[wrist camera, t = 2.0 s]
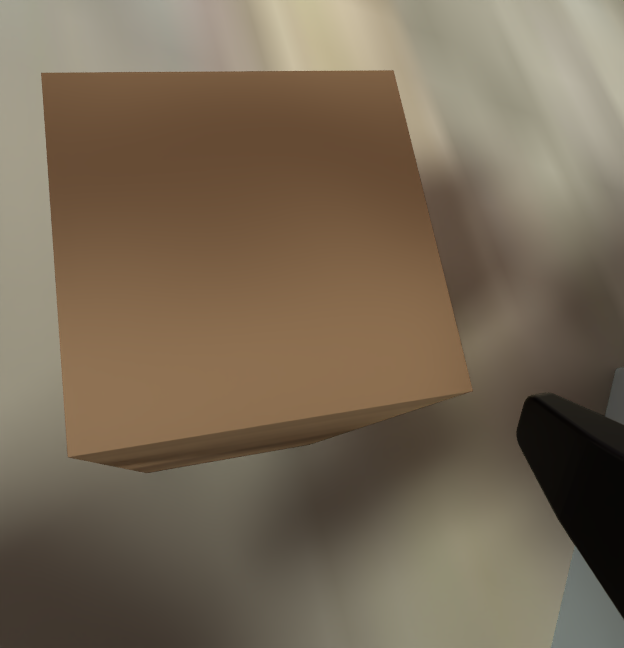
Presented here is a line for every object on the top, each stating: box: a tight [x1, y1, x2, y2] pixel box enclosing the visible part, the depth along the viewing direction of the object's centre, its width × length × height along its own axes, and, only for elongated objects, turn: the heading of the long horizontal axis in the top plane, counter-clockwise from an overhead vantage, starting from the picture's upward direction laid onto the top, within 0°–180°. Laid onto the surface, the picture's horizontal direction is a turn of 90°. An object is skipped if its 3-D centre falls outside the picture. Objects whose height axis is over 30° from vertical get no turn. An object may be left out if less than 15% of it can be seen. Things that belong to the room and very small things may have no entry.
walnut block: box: [41, 70, 473, 473], centre depth 14 cm, size 6×6×12 cm
